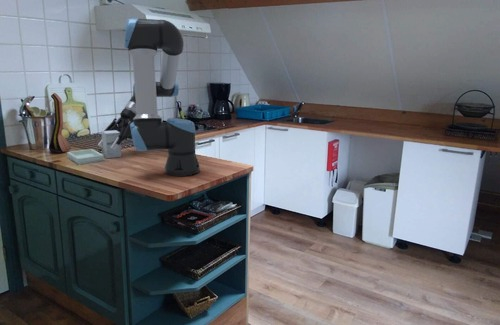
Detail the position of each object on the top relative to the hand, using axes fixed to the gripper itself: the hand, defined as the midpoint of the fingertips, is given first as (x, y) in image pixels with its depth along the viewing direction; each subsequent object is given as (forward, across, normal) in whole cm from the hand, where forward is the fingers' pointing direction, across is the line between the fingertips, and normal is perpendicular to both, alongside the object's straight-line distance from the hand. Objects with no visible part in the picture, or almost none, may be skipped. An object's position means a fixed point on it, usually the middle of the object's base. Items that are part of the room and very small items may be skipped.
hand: (106, 148), depth 193 cm
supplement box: (+1, 0, -6) cm, 6 cm away
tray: (+9, +5, +2) cm, 11 cm away
